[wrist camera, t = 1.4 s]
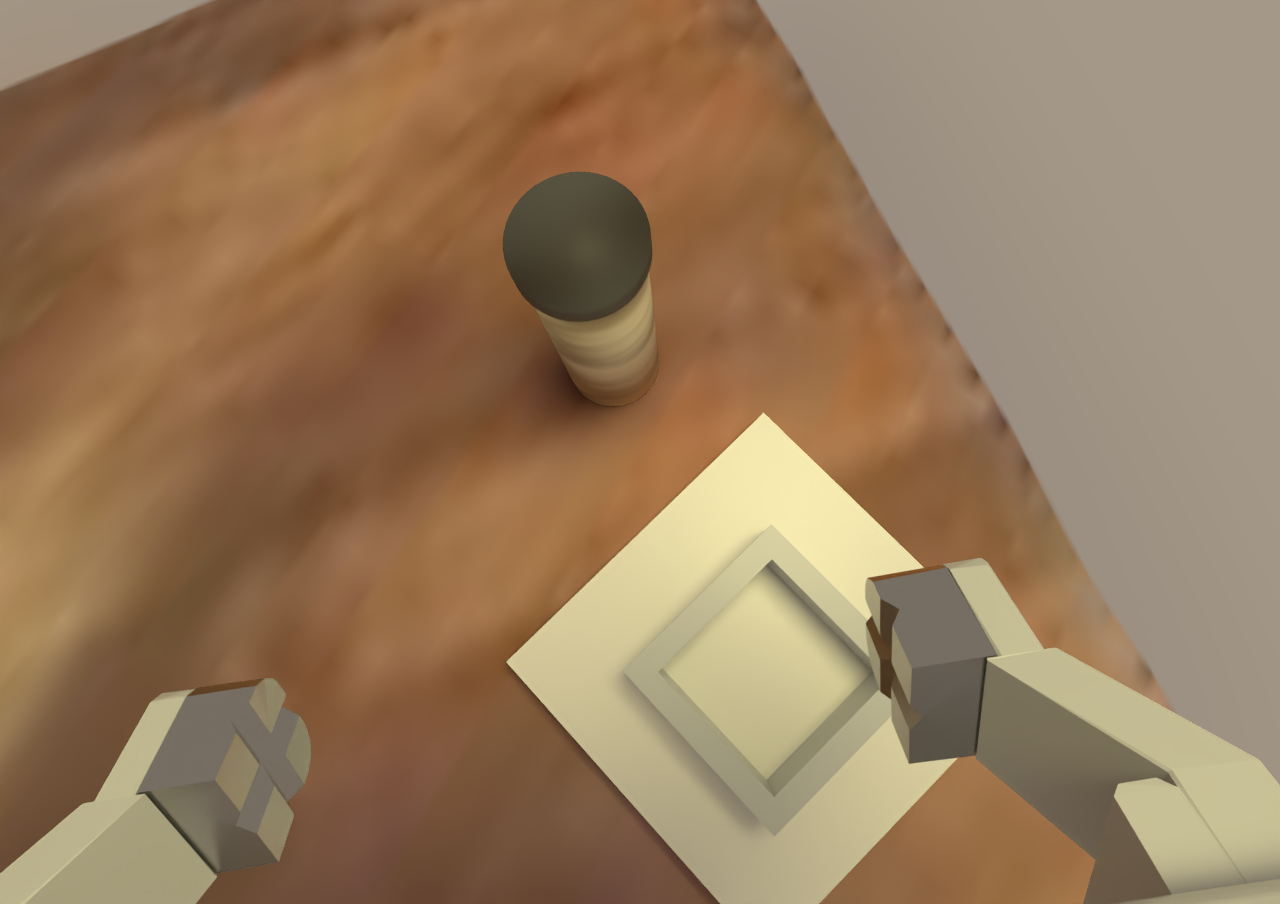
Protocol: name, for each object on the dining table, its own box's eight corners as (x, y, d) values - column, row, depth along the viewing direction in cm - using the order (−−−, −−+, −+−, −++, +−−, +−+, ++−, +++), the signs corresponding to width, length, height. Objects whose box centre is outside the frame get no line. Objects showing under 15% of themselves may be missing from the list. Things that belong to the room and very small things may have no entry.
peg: (544, 362, 39) (472, 240, 26) (615, 296, 39) (580, 144, 26) (612, 430, 38) (572, 340, 25) (683, 362, 39) (682, 239, 25)
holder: (513, 659, 36) (489, 667, 32) (760, 420, 38) (770, 396, 33) (764, 941, 34) (776, 993, 29) (1021, 672, 35) (1069, 682, 31)
